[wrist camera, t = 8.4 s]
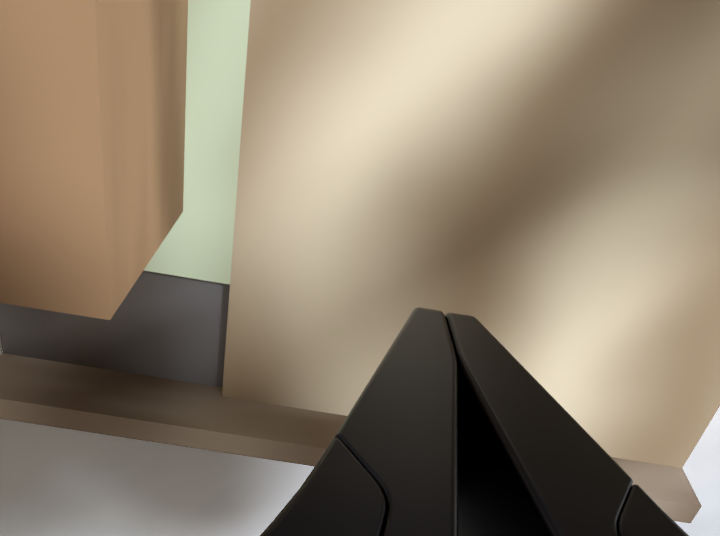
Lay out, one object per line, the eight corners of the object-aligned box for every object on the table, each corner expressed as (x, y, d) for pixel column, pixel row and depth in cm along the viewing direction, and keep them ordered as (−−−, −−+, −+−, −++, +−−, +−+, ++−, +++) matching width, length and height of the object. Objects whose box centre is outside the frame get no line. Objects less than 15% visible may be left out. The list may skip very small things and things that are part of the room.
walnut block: (188, -38, 14) (95, -8, 9) (183, 211, 17) (110, 320, 12) (-94, -89, 13) (-324, -84, 9) (-48, 172, 16) (-205, 270, 12)
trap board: (1104, -290, 12) (1251, -330, 10) (662, 465, 22) (690, 523, 20) (-120, -556, 11) (-239, -661, 9) (12, 364, 21) (-28, 414, 19)
